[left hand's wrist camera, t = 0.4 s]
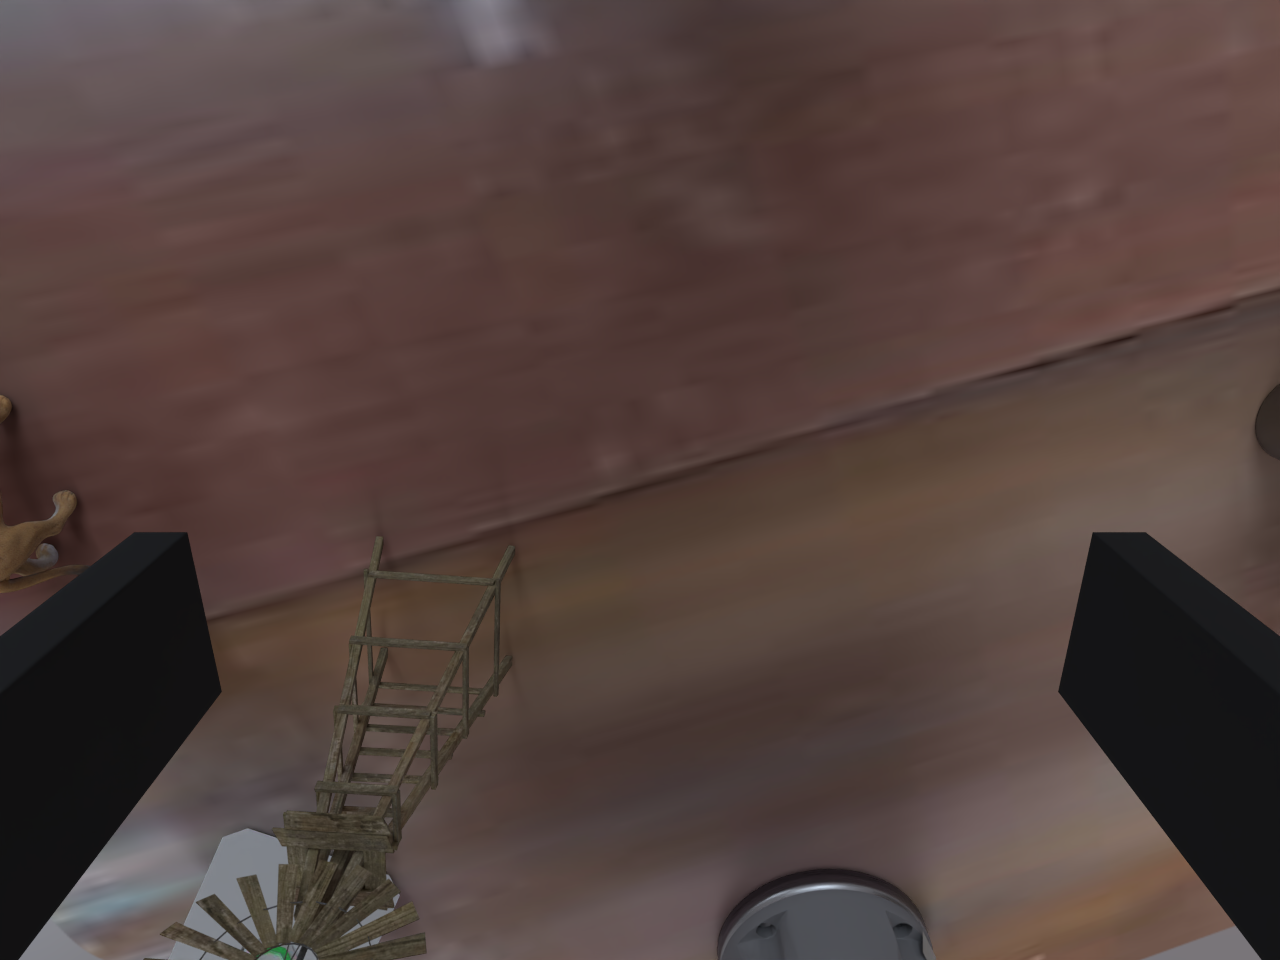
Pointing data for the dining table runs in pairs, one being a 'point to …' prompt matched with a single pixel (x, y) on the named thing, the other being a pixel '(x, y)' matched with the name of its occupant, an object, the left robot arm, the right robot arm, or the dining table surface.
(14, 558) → the lion figurine
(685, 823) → the dining table surface
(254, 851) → the electronic device
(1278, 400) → the jar
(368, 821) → the miniature windmill
